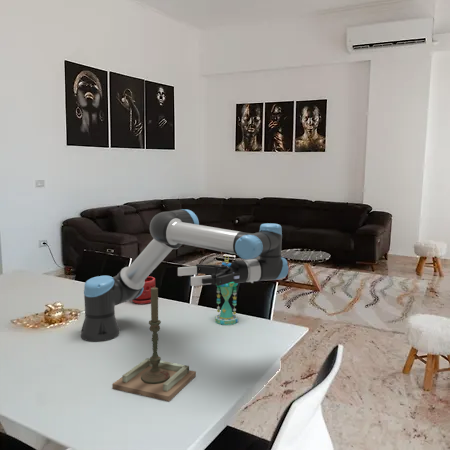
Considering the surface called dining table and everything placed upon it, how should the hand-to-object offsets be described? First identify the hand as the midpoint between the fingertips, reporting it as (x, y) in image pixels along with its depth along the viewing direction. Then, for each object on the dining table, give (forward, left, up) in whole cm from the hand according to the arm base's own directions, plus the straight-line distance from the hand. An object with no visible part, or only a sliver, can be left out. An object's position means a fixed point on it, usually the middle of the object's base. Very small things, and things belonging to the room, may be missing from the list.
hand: (184, 276), depth 146 cm
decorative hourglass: (-8, +56, -34) cm, 66 cm away
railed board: (-7, -7, -34) cm, 35 cm away
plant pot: (-58, +67, -34) cm, 95 cm away
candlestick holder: (-7, -7, -32) cm, 34 cm away
